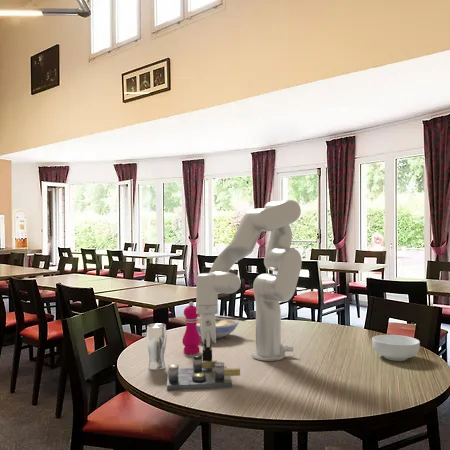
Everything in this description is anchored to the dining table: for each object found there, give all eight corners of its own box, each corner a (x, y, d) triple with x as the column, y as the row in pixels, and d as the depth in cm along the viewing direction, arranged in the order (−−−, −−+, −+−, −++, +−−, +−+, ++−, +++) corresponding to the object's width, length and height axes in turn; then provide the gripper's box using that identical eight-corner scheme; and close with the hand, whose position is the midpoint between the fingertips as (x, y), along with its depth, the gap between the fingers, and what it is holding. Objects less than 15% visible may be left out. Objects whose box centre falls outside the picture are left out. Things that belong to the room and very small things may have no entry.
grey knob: (214, 379, 142) (214, 365, 142) (214, 376, 145) (214, 362, 145) (240, 378, 143) (240, 364, 143) (239, 375, 146) (238, 361, 146)
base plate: (226, 371, 156) (226, 361, 156) (232, 387, 140) (232, 377, 140) (167, 373, 154) (167, 364, 154) (167, 390, 138) (166, 380, 138)
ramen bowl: (176, 338, 201) (176, 320, 201) (207, 328, 220) (207, 311, 220) (222, 346, 187) (222, 327, 187) (251, 335, 206) (250, 317, 206)
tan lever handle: (193, 371, 150) (192, 357, 150) (192, 368, 153) (192, 355, 153) (217, 370, 151) (217, 356, 151) (216, 367, 154) (216, 354, 154)
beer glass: (150, 372, 155) (150, 328, 155) (144, 366, 162) (144, 324, 162) (169, 368, 159) (169, 326, 159) (162, 363, 165) (162, 322, 165)
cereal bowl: (426, 357, 170) (426, 338, 170) (409, 367, 158) (409, 347, 158) (383, 349, 182) (382, 331, 182) (364, 358, 170) (364, 339, 170)
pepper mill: (198, 355, 175) (197, 303, 175) (180, 354, 177) (179, 303, 177) (202, 350, 182) (202, 300, 182) (185, 349, 184) (185, 300, 184)
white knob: (178, 381, 140) (178, 366, 140) (168, 382, 140) (168, 367, 140) (178, 373, 148) (178, 359, 148) (168, 373, 148) (168, 359, 148)
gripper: (219, 312, 151) (219, 367, 151) (216, 304, 166) (216, 354, 166) (197, 313, 150) (197, 368, 150) (195, 305, 165) (195, 355, 165)
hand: (207, 361), depth 158 cm, fingers closed
